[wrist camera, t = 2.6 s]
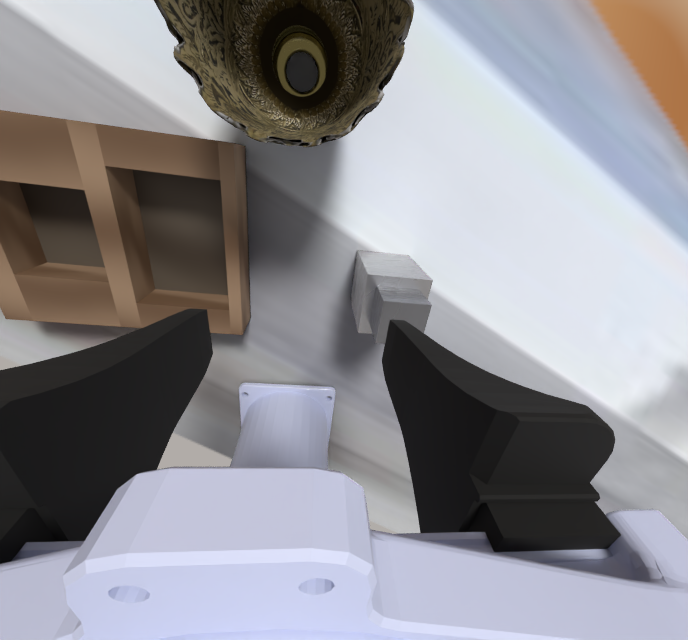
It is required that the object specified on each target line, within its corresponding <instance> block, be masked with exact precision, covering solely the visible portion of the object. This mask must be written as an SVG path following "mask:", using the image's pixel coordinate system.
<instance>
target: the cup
mask: <svg viewBox="0 0 688 640" xmlns="http://www.w3.org/2000/svg"><path fill="white" fill-rule="evenodd" d="M154 1H155V3H156V5H157V7H158V9H159V10H160V12H161V14H162V15H163V17H164V19H165V21H166V24H167V26H168V29H169V31H170V32H171V34H172V35H173V36H174V37H175V38H176V39H177V40H178V42H179V44H177V46H174V58H175V59H176V61H177V62H178V63H179V65H180V66H181V67H182V68H183V69H184V70H185V71H186V72H188V73H189V74H190V75H191V76H192V77H193V78H194V80H195V82H196V84H197V85H198V88H199V93H200V95H201V96H202V98H203V99H204V101H205V102H206V104H207V105H208V106H209V107H210V109H211V110H212V111H213V112H215V113H216V114H217V115H218V116H220V117H221V118H222V119H224V120H225V121H227V122H228V123H230V124H232V125H233V126H234V127H236V128H238V129H240V130H242V131H243V132H245V134H246V135H247V136H248V137H250V138H252V139H254V140H257V141H260V142H264V143H268V142H270V143H272V142H273V143H278V144H283V145H286V146H303V147H313V146H317V145H320V144H322V143H325V142H328V141H332V140H336V139H339V138H341V137H343V136H345V135H347V134H348V133H350V132H351V131H352V130H353V129H354V128H355V127H356V126H357V125H358V123H359V122H360V121H361V120H362V118H363V117H364V116H365V115H366V114H367V113H369V112H371V111H372V110H373V109H374V108H376V107H377V105H378V104H379V103H380V101H381V100H382V98H383V96H384V93H383V88H384V87H385V85H387V84H388V82H389V81H390V80H391V78H392V76H393V74H394V71H395V70H396V68H397V67H398V65H399V63H400V61H401V59H402V56H403V53H404V44H405V42H403V41H404V40H405V39H406V37H407V35H408V32H409V29H410V25H411V22H412V19H413V12H414V6H413V2H412V0H154ZM296 52H305V53H308V54H309V55H310V56H311V57H312V58H313V59H314V61H315V63H316V65H317V69H318V78H317V82H316V84H315V86H314V87H313V88H312V89H311V90H309V91H307V92H299V91H297V90H295V89H294V88H293V87H292V86H291V84H290V83H289V81H288V78H287V74H286V66H287V62H288V60H289V58H290V57H291V56H292V55H293V54H294V53H296Z"/></svg>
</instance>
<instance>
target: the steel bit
mask: <svg viewBox="0 0 688 640" xmlns="http://www.w3.org/2000/svg"><path fill="white" fill-rule="evenodd" d="M432 281H433V280H432V279H431V278H430V277H429V276H428V275H427V274H426V273H425V272H424V271H423V270H422V269H421V268H420V267H419V266H418V265H417V264H416V263H415V261H414V260H413V259H412V258H411V257H410V256H409V255H401V254H391V253H382V252H372V251H363V250H357V256H356V263H355V270H354V277H353V284H352V291H351V303H352V308H353V312H354V317H355V321H356V326H357V330H358V333H368V334H373V337H374V340H375V343H379V344H385V342H386V337H387V331H388V326H389V321H390V320H405V321H407V322H408V323H410V324H411V325H413V326H414V327H416V328H417V329H418V330H420V331H421V332H423V333H424V330H425V327H426V323H427V320H428V316H429V313H430V309H431V306H432V305H431V304H430V302H429V301H428V296H429V292H430V289H431V285H432Z"/></svg>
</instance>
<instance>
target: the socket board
mask: <svg viewBox="0 0 688 640" xmlns="http://www.w3.org/2000/svg"><path fill="white" fill-rule="evenodd" d="M0 308H1V310H2V312H3V314H4V316H5V318H6V319H14V320H29V321H44V322H59V323H74V324H88V325H103V326H118V327H133V328H144V327H146V326H148V325H151V324H153V323H155V322H157V321H160V320H162V319H164V318H167V317H169V316H171V315H173V314H176V313H178V312H181V311H183V310H186V309H190V308H193V309H207V314H208V321H209V329H210V333H221V334H236V335H243V333H244V331H245V329H246V326H247V324H248V322H249V320H250V318H251V312H250V279H249V246H248V213H247V180H246V147H245V146H243V145H239V144H235V143H229V142H222V141H215V140H207V139H200V138H193V137H186V136H179V135H172V134H165V133H158V132H151V131H144V130H137V129H130V128H122V127H115V126H108V125H101V124H94V123H87V122H80V121H73V120H66V119H59V118H52V117H45V116H37V115H30V114H23V113H16V112H9V111H2V110H0Z"/></svg>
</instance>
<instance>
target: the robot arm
mask: <svg viewBox="0 0 688 640" xmlns="http://www.w3.org/2000/svg"><path fill="white" fill-rule="evenodd" d="M212 355H213V351H212V343H211V336H210V329H209V321H208V314H207V309H193V308H190V309H186V310H183V311H181V312H178V313H176V314H173V315H171V316H169V317H167V318H164V319H162V320H160V321H157V322H155V323H153V324H151V325H148V326H146V327H144V328H141V329H139V330H136V331H134V332H131V333H129V334H126V335H124V336H121V337H119V338H117V339H114V340H111V341H108V342H106V343H103V344H100V345H97V346H94V347H91V348H87V349H84V350H81V351H78V352H74V353H71V354H67V355H63V356H59V357H56V358H52V359H48V360H44V361H40V362H36V363H32V364H28V365H23V366H19V367H14V368H9V369H5V370H0V640H688V540H687V539H686V538H685V537H684V536H683V535H682V534H681V533H680V532H679V531H678V530H677V528H676V527H675V526H674V525H673V524H672V523H671V522H670V521H669V520H668V519H667V518H666V517H665V516H664V515H663V514H662V513H661V512H660V511H658V510H654V509H639V510H616V511H612V512H610V513H608V514H606V515H605V514H604V513H603V512H602V510H601V509H600V508H599V507H598V505H597V504H596V503H595V502H594V501H598V500H599V499H600V496H599V493H598V492H597V491H596V490H595V489H594V487H593V486H592V485H591V484H590V482H591V480H592V479H593V478H594V476H595V475H596V474H597V473H598V471H599V470H600V469H601V467H602V466H603V465H604V464H605V462H606V461H607V460H608V458H609V456H610V455H611V453H612V451H613V448H614V443H615V436H614V432H613V430H612V429H611V428H610V427H609V426H608V424H607V423H605V422H604V421H603V420H602V419H601V418H600V417H599V416H598V415H597V414H596V413H594V412H593V411H592V410H591V409H590V408H589V407H588V406H586V405H583V404H579V403H576V402H572V401H568V400H565V399H561V398H558V397H554V396H551V395H547V394H544V393H541V392H538V391H535V390H532V389H529V388H526V387H523V386H521V385H518V384H515V383H513V382H510V381H508V380H505V379H503V378H501V377H498V376H496V375H494V374H491V373H489V372H487V371H485V370H483V369H481V368H479V367H477V366H475V365H473V364H471V363H469V362H467V361H465V360H464V359H462V358H460V357H458V356H457V355H455V354H453V353H452V352H450V351H449V350H447V349H445V348H444V347H442V346H441V345H439V344H438V343H437V342H435V341H434V340H432V339H431V338H429V337H428V336H427V335H425V334H424V333H423V332H421V331H420V330H418V329H417V328H416V327H414V326H413V325H411V324H410V323H408V322H407V321H405V320H390V321H389V326H388V331H387V337H386V342H385V347H384V352H383V357H382V364H383V371H384V376H385V381H386V384H387V387H388V391H389V394H390V397H391V400H392V403H393V406H394V409H395V412H396V415H397V418H398V421H399V424H400V427H401V430H402V434H403V438H404V443H405V447H406V452H407V457H408V462H409V467H410V472H411V477H412V483H413V488H414V494H415V500H416V506H417V512H418V518H419V525H420V532H421V533H407V534H391V533H386V532H381V531H375V530H371V529H370V525H369V517H368V510H367V503H366V499H365V494H364V490H363V487H362V486H360V485H359V484H357V483H356V482H355V481H353V480H352V479H350V478H349V477H348V476H346V475H345V474H343V473H342V472H339V471H334V470H328V443H329V436H330V429H331V422H332V415H333V408H334V401H335V389H334V388H333V387H323V386H303V385H283V384H262V383H242V384H241V385H240V387H239V400H240V417H241V432H240V435H239V439H238V442H237V445H236V448H235V452H234V455H233V458H232V462H231V465H230V467H170V468H164V469H158V470H157V467H158V465H159V463H160V460H161V458H162V455H163V453H164V451H165V448H166V446H167V444H168V442H169V439H170V437H171V435H172V433H173V431H174V429H175V427H176V425H177V423H178V421H179V419H180V418H181V416H182V414H183V412H184V411H185V409H186V407H187V405H188V404H189V402H190V400H191V398H192V397H193V395H194V393H195V392H196V390H197V388H198V386H199V384H200V383H201V381H202V379H203V377H204V375H205V373H206V371H207V368H208V366H209V363H210V360H211V357H212ZM244 392H246V393H248V394H245V393H244ZM328 396H331V397H330V398H328Z"/></svg>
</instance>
